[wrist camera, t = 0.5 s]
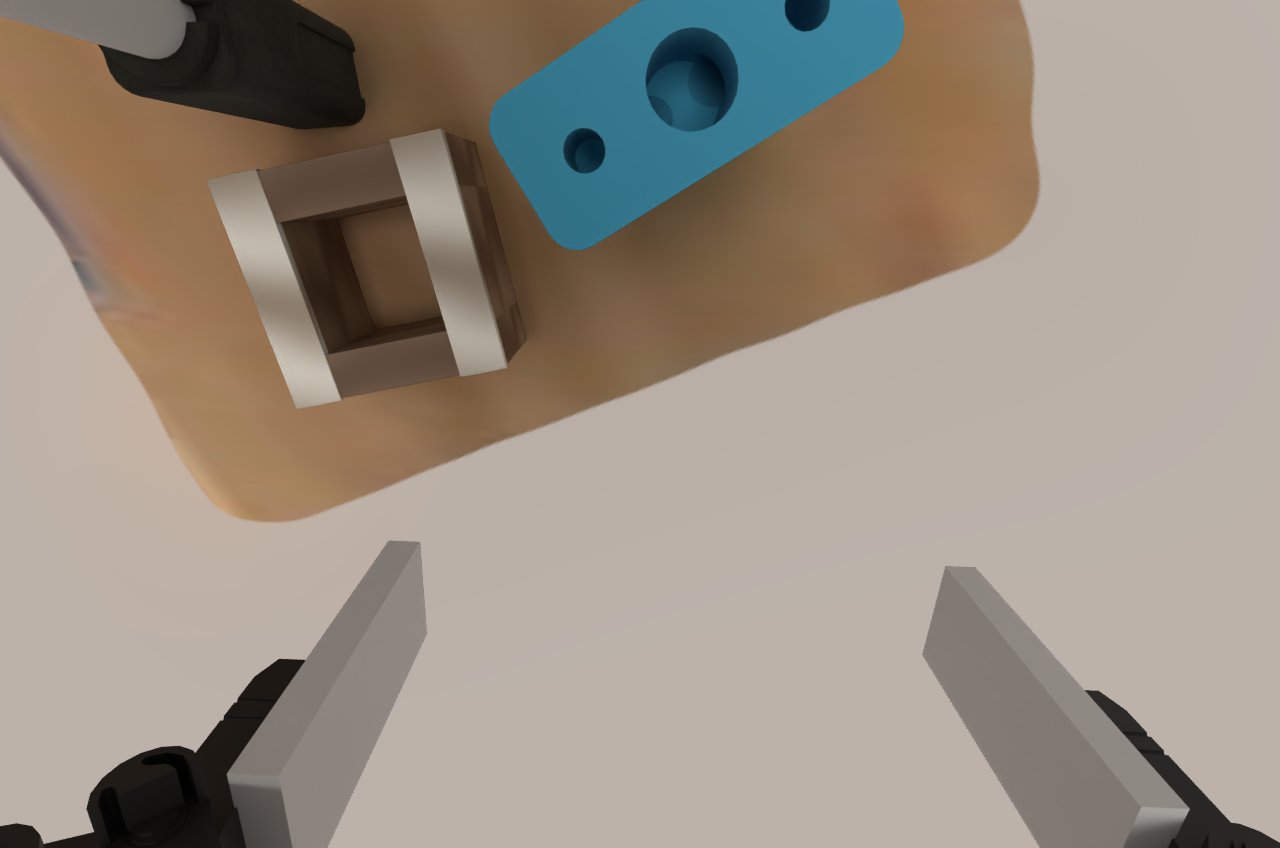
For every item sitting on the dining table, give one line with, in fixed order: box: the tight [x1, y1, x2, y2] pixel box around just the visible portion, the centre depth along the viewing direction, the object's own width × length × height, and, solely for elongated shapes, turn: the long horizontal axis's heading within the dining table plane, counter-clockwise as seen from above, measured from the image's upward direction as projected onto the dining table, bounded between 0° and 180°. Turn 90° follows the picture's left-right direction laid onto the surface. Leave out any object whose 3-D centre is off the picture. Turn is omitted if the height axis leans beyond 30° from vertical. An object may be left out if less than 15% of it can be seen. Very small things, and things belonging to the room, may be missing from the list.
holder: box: [206, 128, 526, 409], centre depth 37 cm, size 12×12×7 cm
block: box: [489, 0, 904, 250], centre depth 28 cm, size 12×5×20 cm, turn 121°
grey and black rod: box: [0, 0, 365, 129], centre depth 25 cm, size 5×5×25 cm
